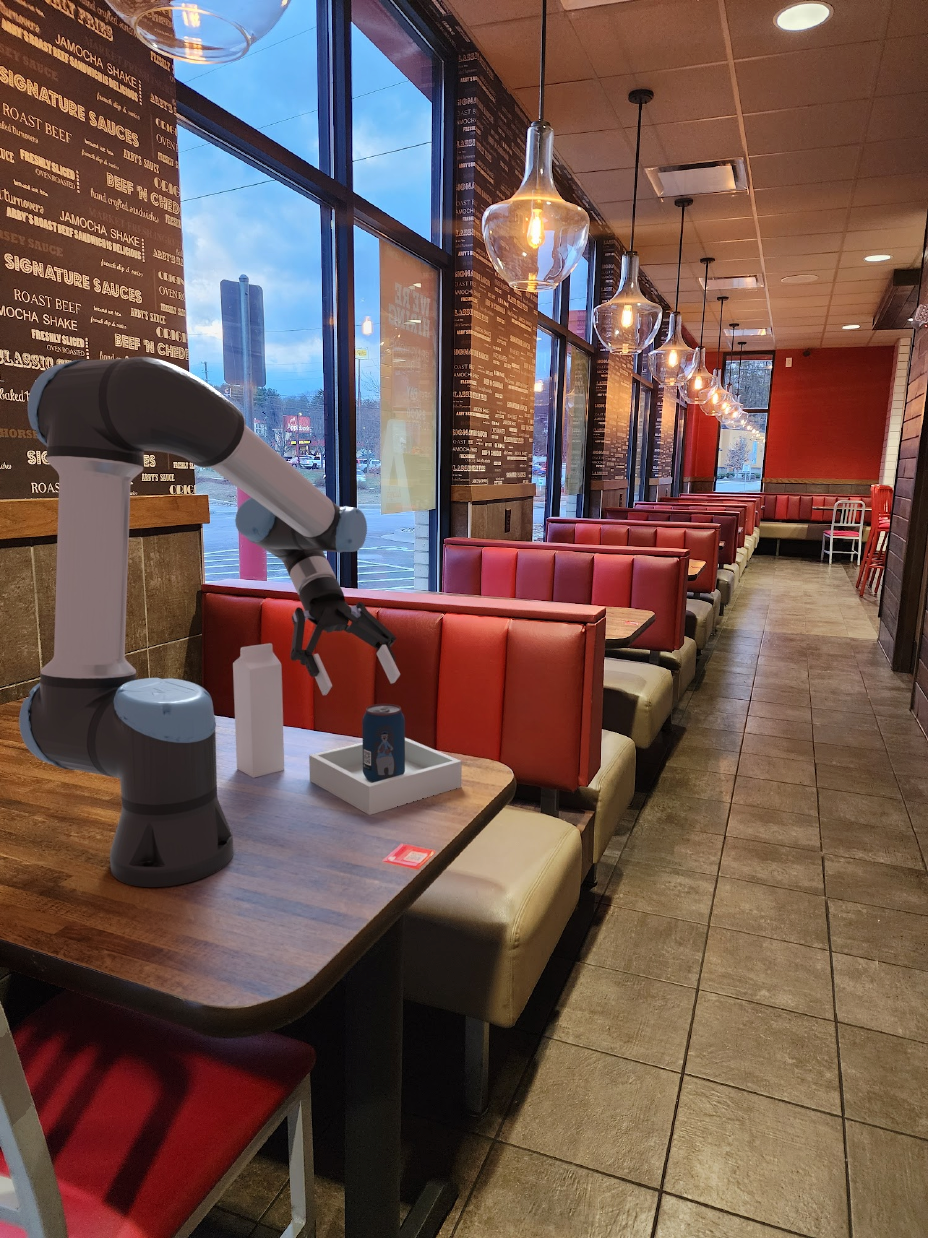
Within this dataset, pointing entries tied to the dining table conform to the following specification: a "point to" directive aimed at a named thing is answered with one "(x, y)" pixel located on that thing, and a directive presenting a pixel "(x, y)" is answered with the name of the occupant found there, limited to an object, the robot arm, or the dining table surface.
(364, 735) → the soda can
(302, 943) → the dining table surface
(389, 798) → the box
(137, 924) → the dining table surface
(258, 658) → the milk
